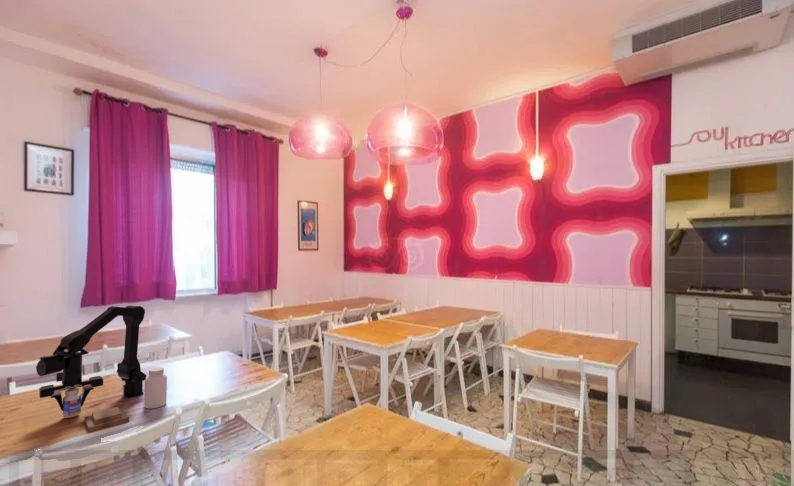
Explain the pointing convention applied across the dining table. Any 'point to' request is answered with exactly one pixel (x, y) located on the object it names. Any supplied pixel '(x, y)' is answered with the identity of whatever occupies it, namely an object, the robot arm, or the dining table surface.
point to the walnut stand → (106, 418)
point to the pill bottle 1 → (71, 403)
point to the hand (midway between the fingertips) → (72, 408)
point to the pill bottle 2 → (155, 388)
